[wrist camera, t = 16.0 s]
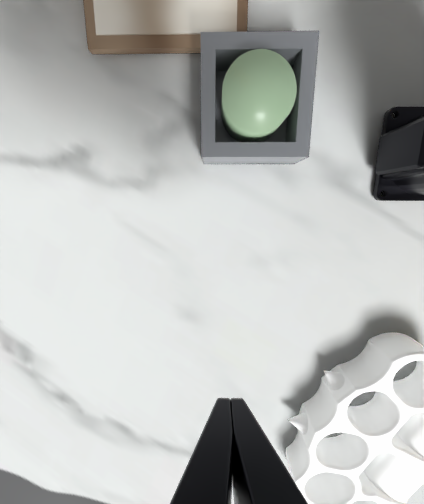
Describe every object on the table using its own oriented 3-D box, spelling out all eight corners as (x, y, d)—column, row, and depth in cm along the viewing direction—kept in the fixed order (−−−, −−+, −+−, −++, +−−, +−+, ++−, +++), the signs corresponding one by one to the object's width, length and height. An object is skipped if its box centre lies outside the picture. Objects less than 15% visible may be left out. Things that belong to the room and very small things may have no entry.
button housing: (301, 60, 17) (319, 30, 14) (294, 163, 18) (308, 156, 15) (203, 61, 17) (200, 32, 14) (203, 164, 19) (201, 157, 16)
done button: (284, 75, 16) (299, 48, 14) (280, 143, 17) (293, 132, 14) (221, 76, 17) (222, 49, 14) (220, 143, 17) (221, 132, 15)
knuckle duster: (367, 499, 26) (251, 446, 25) (482, 374, 22) (353, 305, 21) (389, 543, 23) (257, 483, 21) (527, 404, 19) (378, 324, 18)
